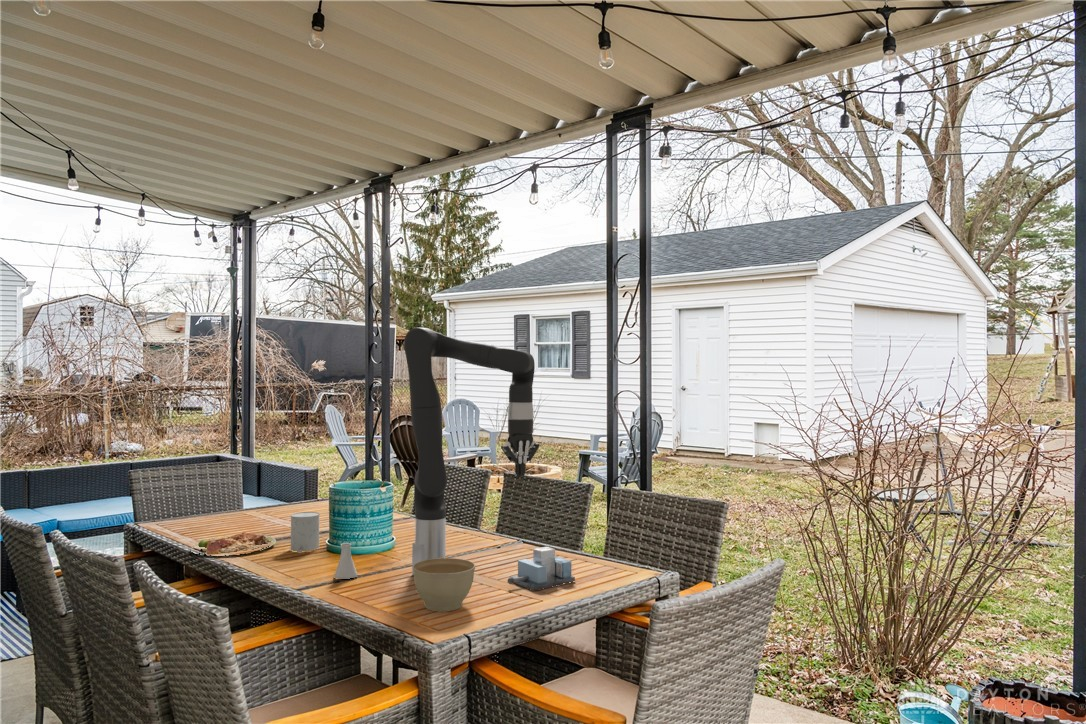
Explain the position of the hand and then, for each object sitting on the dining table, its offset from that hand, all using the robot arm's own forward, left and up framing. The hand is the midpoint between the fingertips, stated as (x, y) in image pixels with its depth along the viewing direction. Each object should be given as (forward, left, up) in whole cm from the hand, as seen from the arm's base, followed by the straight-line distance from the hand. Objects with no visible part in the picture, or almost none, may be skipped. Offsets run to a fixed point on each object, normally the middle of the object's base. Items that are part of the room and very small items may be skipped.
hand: (520, 476), depth 214 cm
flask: (-40, +34, -31) cm, 61 cm away
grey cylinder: (-38, +76, -31) cm, 91 cm away
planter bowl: (-30, -8, -31) cm, 44 cm away
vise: (+5, -5, -31) cm, 32 cm away
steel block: (+5, -5, -29) cm, 30 cm away
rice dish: (-57, +93, -32) cm, 114 cm away
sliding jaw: (-2, -5, -30) cm, 30 cm away
